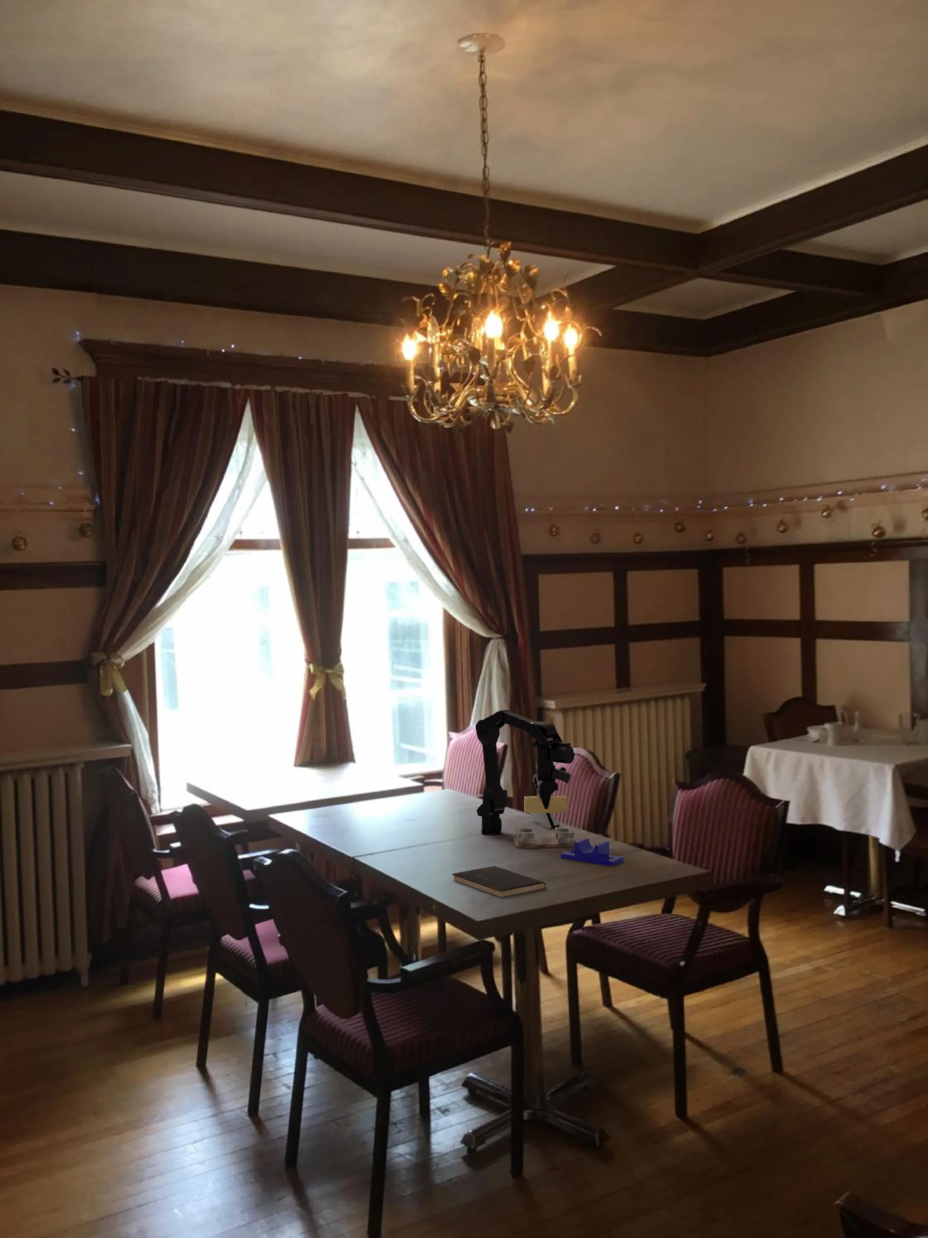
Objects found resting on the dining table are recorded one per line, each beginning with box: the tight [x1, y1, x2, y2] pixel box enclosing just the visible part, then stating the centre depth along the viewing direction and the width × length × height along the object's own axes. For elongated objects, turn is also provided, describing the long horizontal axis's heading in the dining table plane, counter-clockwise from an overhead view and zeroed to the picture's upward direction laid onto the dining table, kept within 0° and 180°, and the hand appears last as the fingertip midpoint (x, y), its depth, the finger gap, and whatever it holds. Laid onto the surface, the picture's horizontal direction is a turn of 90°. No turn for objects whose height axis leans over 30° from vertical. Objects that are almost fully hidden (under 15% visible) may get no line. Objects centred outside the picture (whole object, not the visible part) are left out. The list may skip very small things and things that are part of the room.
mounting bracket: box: [560, 837, 624, 867], centre depth 338 cm, size 18×7×6 cm, turn 55°
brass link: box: [523, 795, 569, 814], centre depth 361 cm, size 14×4×5 cm, turn 93°
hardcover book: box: [451, 865, 546, 898], centre depth 310 cm, size 16×23×2 cm
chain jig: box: [513, 826, 576, 849], centre depth 361 cm, size 20×11×4 cm, turn 92°
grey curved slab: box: [529, 813, 562, 829], centre depth 393 cm, size 17×5×10 cm, turn 17°
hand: (545, 808), depth 361 cm, fingers closed on brass link, 3 cm apart
